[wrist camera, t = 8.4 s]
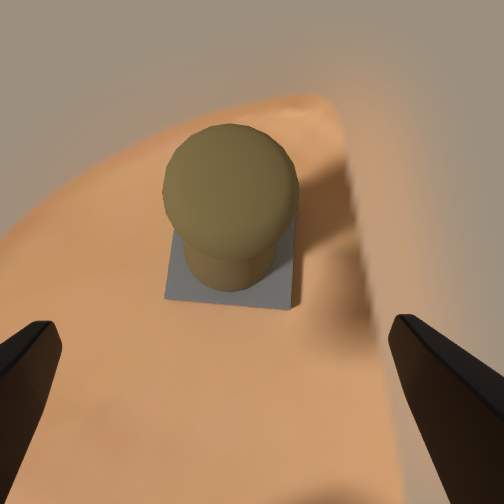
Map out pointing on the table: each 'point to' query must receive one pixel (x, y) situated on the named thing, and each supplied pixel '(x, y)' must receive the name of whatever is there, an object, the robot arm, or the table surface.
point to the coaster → (257, 296)
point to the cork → (230, 203)
